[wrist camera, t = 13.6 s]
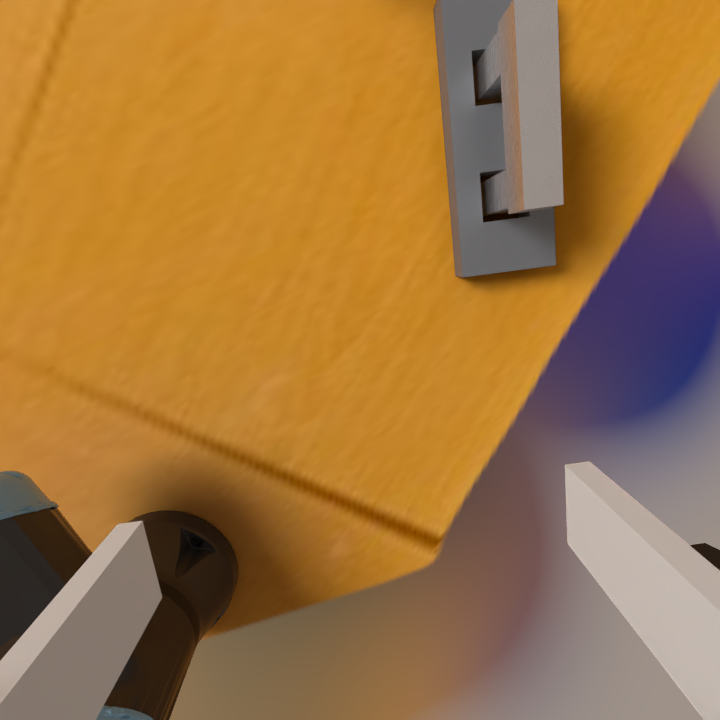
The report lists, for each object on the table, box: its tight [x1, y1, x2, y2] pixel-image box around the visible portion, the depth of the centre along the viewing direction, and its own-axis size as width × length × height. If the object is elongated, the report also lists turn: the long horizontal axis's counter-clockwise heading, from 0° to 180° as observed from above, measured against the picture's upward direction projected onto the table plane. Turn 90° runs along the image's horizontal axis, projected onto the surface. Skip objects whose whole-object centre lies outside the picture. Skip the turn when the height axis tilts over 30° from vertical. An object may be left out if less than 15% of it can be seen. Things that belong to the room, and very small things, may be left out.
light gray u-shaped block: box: [473, 0, 564, 216], centre depth 39 cm, size 3×14×12 cm, turn 8°
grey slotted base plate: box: [434, 0, 556, 277], centre depth 43 cm, size 9×24×3 cm, turn 7°
